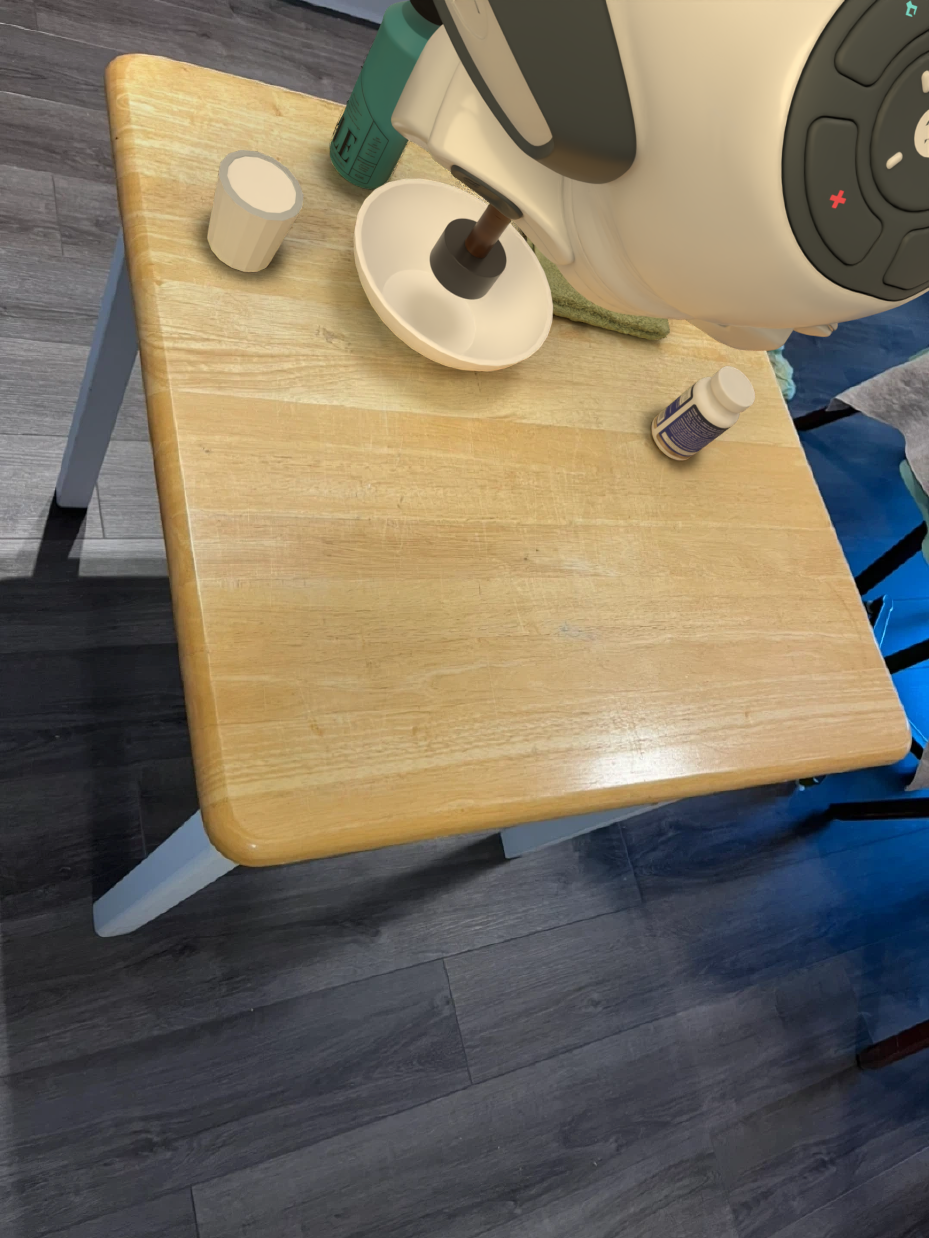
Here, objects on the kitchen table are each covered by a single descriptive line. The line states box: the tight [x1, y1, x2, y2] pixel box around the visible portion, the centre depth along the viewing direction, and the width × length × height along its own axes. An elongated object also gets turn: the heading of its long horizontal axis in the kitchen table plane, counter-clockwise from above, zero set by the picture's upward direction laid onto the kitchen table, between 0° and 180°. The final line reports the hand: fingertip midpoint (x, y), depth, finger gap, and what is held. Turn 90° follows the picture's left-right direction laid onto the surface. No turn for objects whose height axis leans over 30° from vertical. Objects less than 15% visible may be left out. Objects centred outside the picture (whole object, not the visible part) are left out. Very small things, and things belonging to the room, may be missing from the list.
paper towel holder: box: [430, 203, 513, 300], centre depth 70 cm, size 6×6×18 cm
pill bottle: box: [651, 365, 756, 461], centre depth 89 cm, size 6×6×10 cm
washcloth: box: [526, 236, 671, 341], centre depth 95 cm, size 13×18×3 cm
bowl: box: [353, 178, 554, 372], centre depth 80 cm, size 20×20×7 cm
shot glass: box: [206, 149, 305, 273], centre depth 73 cm, size 7×7×7 cm
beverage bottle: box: [328, 0, 443, 190], centre depth 77 cm, size 6×7×20 cm
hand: (562, 218), depth 46 cm, fingers open, 8 cm apart
